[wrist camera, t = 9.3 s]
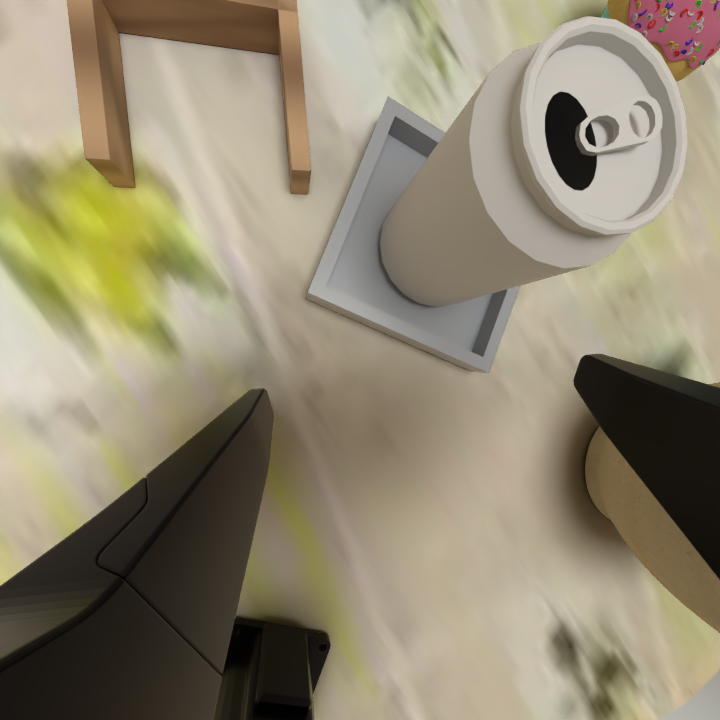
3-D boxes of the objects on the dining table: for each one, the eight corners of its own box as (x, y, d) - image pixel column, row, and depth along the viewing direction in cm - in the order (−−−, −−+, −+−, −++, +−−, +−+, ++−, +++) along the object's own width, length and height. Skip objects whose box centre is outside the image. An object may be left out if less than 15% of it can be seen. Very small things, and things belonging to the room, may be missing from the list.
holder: (307, 194, 19) (310, 170, 17) (114, 186, 17) (84, 158, 14) (294, 39, 19) (296, -8, 16) (94, 9, 16) (60, -52, 14)
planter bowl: (712, 504, 28) (967, 595, 18) (578, 593, 25) (796, 772, 14) (672, 339, 27) (928, 330, 16) (523, 410, 23) (723, 458, 13)
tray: (471, 371, 22) (488, 373, 20) (305, 298, 19) (307, 292, 17) (528, 213, 23) (551, 200, 21) (378, 121, 20) (388, 96, 18)
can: (361, 207, 19) (475, -13, 8) (463, 185, 21) (686, -24, 9) (394, 322, 20) (545, 281, 8) (490, 292, 22) (729, 223, 10)
